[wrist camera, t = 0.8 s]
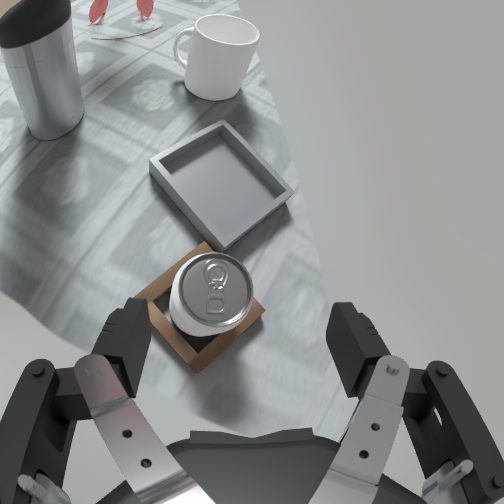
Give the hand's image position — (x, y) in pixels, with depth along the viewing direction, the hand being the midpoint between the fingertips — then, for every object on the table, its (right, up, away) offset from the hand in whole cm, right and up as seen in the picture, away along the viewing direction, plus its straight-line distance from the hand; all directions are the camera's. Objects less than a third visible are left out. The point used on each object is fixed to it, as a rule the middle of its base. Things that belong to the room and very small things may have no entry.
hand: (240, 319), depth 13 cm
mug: (-7, +30, +31) cm, 44 cm away
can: (-6, -3, +20) cm, 21 cm away
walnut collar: (-5, -3, +20) cm, 21 cm away
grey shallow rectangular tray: (-4, +11, +25) cm, 28 cm away
